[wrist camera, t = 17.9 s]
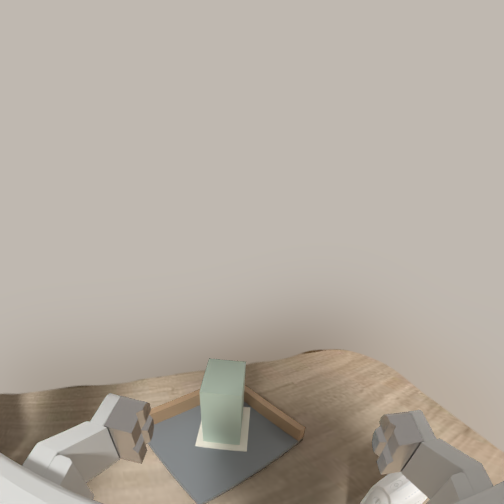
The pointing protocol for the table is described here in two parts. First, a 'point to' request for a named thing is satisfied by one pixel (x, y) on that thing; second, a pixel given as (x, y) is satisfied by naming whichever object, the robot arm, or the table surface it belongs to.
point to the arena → (219, 444)
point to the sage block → (222, 401)
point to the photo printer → (394, 491)
